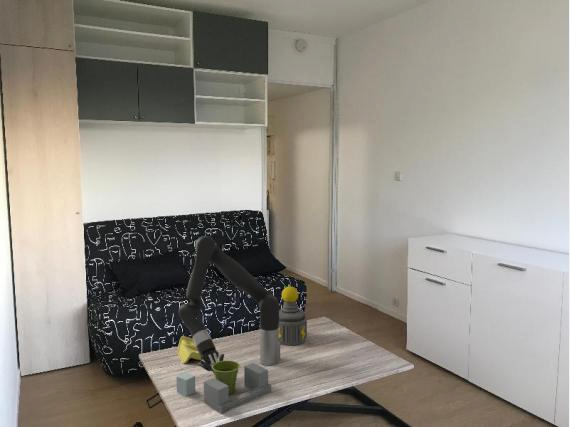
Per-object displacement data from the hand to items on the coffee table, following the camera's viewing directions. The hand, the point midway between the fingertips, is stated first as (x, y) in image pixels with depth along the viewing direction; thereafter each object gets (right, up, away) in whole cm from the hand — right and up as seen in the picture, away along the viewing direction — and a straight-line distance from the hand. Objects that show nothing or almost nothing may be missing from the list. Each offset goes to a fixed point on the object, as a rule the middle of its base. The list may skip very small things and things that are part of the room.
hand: (220, 377), depth 204 cm
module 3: (+16, -4, -1) cm, 16 cm away
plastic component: (-19, -1, +35) cm, 40 cm away
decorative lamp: (+31, +1, +56) cm, 64 cm away
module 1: (-14, -5, -3) cm, 15 cm away
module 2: (+1, -6, -15) cm, 16 cm away
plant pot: (+3, -5, -3) cm, 7 cm away
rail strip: (+12, -6, -12) cm, 18 cm away
